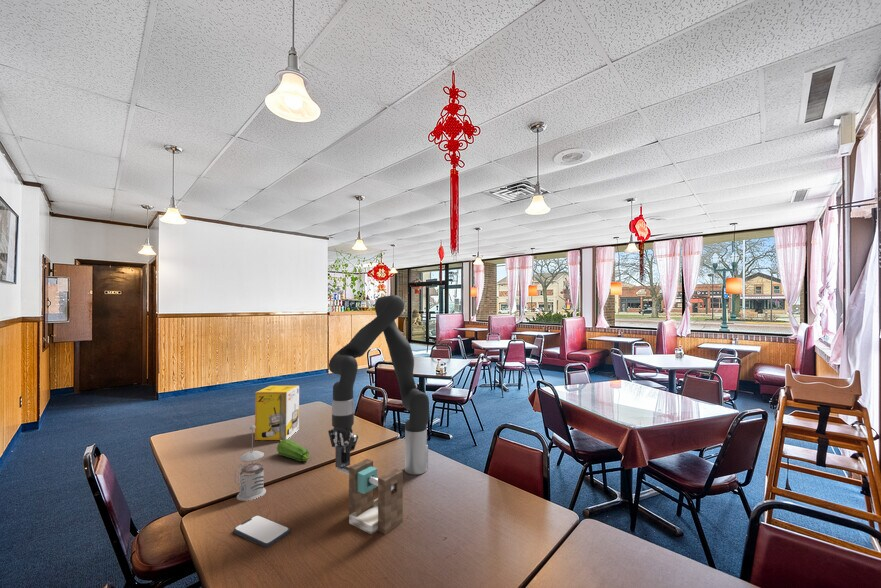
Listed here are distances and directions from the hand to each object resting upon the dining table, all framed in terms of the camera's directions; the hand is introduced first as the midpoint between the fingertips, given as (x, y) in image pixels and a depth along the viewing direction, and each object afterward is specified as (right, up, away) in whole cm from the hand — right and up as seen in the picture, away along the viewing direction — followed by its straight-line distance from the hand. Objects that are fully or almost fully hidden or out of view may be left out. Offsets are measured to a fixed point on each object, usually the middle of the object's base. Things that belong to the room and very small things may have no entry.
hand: (342, 460), depth 128 cm
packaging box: (-53, -17, +67) cm, 87 cm away
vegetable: (-32, -16, +38) cm, 53 cm away
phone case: (-20, -15, -17) cm, 30 cm away
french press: (-36, -15, +5) cm, 39 cm away
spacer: (+10, -6, -7) cm, 14 cm away
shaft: (+9, -3, -7) cm, 12 cm away
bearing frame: (+13, -14, -10) cm, 21 cm away
